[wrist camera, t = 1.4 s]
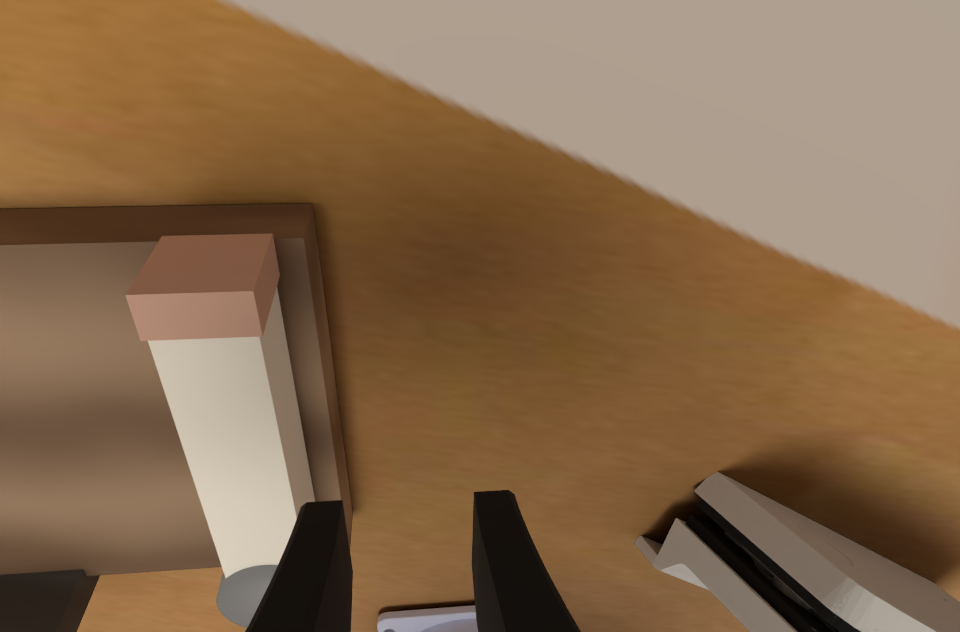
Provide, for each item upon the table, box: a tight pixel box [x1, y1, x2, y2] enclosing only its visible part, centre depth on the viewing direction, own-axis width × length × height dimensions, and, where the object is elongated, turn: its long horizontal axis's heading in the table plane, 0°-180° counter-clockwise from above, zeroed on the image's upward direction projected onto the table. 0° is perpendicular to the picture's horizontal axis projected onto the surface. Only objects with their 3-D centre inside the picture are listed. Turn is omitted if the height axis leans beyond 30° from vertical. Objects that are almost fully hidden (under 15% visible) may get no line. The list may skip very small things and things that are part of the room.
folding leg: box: [125, 233, 315, 628], centre depth 19 cm, size 13×3×3 cm, turn 178°
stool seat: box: [0, 203, 353, 632], centre depth 19 cm, size 14×16×5 cm
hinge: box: [634, 472, 960, 632], centre depth 27 cm, size 17×5×10 cm, turn 54°
